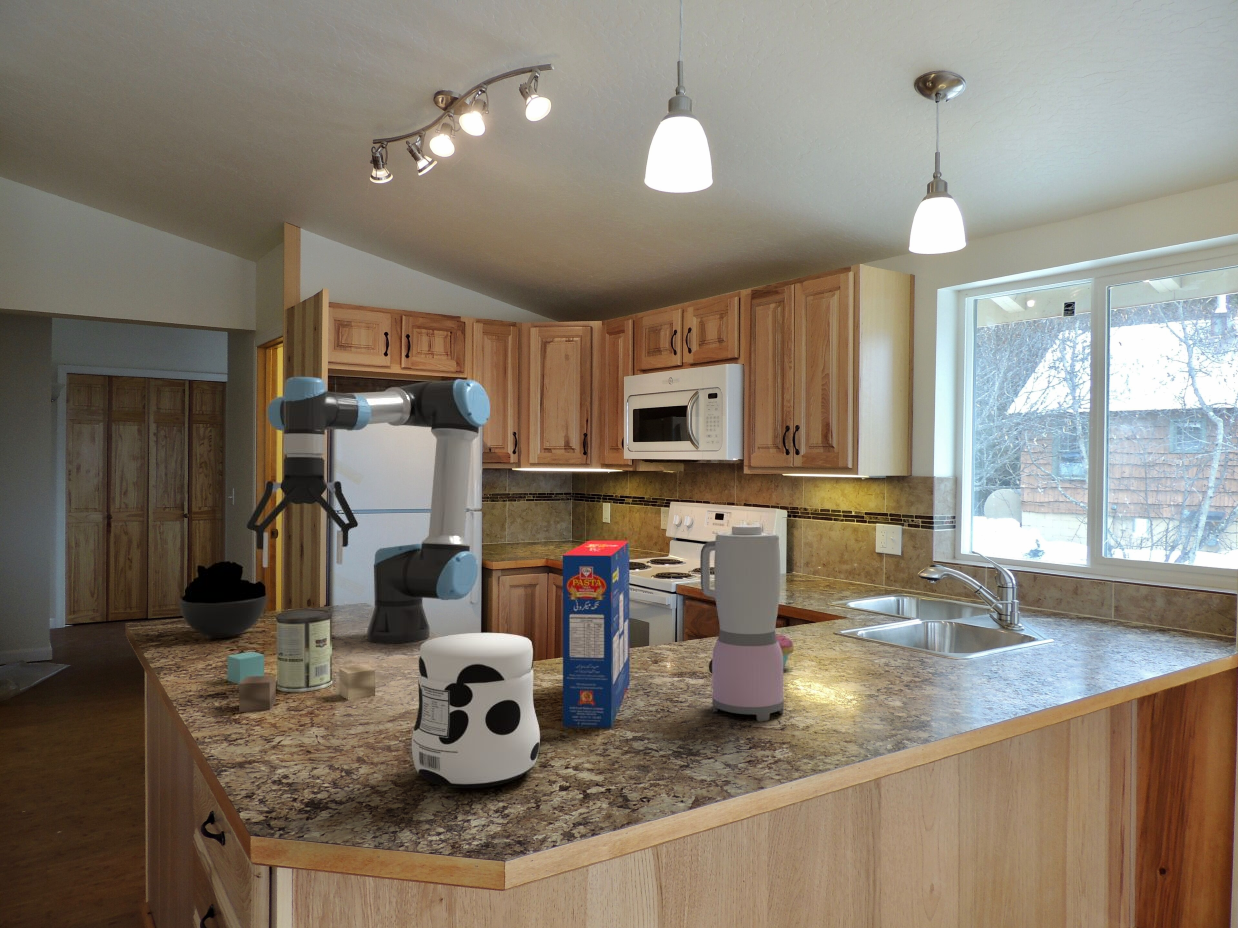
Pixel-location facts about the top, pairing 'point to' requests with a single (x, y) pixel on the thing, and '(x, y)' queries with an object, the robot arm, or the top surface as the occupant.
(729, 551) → the blender
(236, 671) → the teal cube
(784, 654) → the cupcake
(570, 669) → the pasta box
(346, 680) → the oak cube
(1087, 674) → the top surface
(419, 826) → the top surface
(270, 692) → the walnut cube
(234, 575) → the bowl of black rocks
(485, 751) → the milk container
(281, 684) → the coffee can
